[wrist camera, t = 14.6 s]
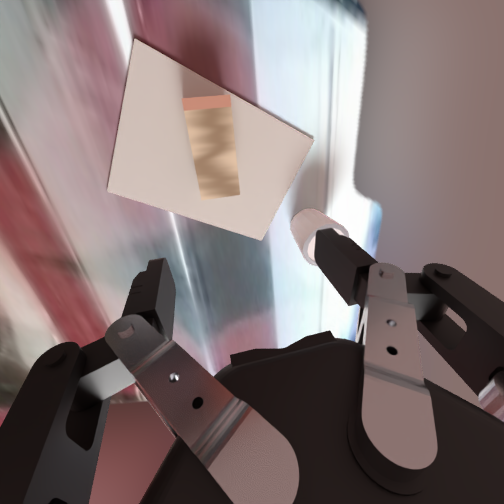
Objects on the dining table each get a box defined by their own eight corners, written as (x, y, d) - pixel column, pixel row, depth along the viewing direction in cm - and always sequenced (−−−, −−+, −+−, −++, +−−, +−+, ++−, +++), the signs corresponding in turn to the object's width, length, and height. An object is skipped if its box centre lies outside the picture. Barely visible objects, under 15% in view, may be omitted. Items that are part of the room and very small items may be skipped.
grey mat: (107, 190, 29) (107, 191, 29) (135, 38, 23) (134, 38, 23) (261, 239, 38) (261, 240, 38) (313, 139, 31) (314, 140, 31)
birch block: (201, 200, 28) (181, 98, 22) (200, 188, 31) (183, 98, 26) (240, 194, 28) (230, 94, 23) (234, 183, 32) (224, 95, 26)
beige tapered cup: (305, 196, 36) (327, 214, 30) (334, 217, 39) (359, 237, 33) (277, 231, 38) (293, 255, 32) (307, 248, 41) (326, 273, 35)
